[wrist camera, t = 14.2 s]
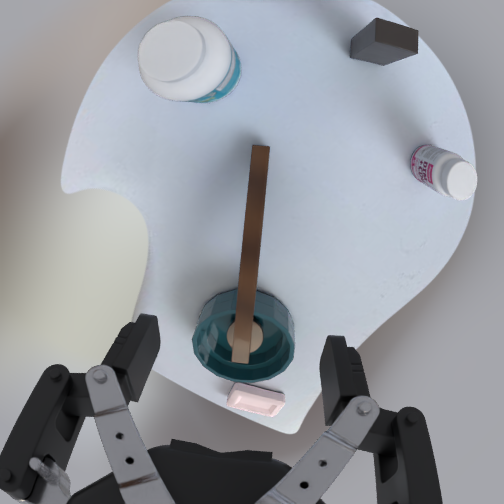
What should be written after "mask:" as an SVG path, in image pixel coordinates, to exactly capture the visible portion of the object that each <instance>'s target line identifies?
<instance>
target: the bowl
mask: <svg viewBox="0 0 504 504" xmlns="http://www.w3.org/2000/svg"><path fill="white" fill-rule="evenodd" d="M237 293H238V290H232V291H229V292H226V293H222V294H219V295H217V296H215V297H214V298H213V299H212V300H211V301H209V302H208V303H207V304H206V305H205V306H204V308H203V310H202V312H201V315H200V317H199V320H198V323H197V326H196V329H195V332H194V335H193V338H192V343H193V349H194V354H195V355H196V357H197V358H198V360H199V361H200V362H201V364H202V365H203V367H205V368H206V369H208V370H209V371H211V372H212V373H214V374H215V375H216V376H219V377H222V378H224V379H227V380H231V381H234V382H246V383H255V382H260V381H264V380H269V379H271V378H273V377H275V376H277V375H278V374H280V373H282V372H284V371H285V370H286V368H287V367H288V366H289V364H290V363H291V362H292V360H293V358H294V350H295V335H294V323H293V321H292V318H291V316H290V314H289V311H288V309H287V308H285V307H284V306H283V305H282V304H281V303H280V302H279V301H278V300H276V299H275V298H274V297H271V296H269V295H266V294H264V293H261V292H258V291H256V297H255V307H254V317H253V318H255V319H256V320H258V321H259V323H260V324H261V326H262V328H263V342H262V344H261V346H260V347H259V348H258V349H257V350H256V351H254V352H252V353H250V355H249V363H248V364H245V363H236V362H231V358H232V348H231V347H230V345H229V343H228V341H227V331H228V328H229V326H230V324H231V323H232V322H233V321H234V320H235V315H236V304H237Z"/></svg>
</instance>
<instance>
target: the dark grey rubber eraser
mask: <svg viewBox="0 0 504 504" xmlns="http://www.w3.org/2000/svg"><path fill="white" fill-rule="evenodd" d="M415 54H418V30H415V29H412V28H409V27H406V26H403V25H400V24H397V23H393V22H390V21H387V20H383V19H379V18H375V19H374V20H373V21H372V22H370V23H369V24H368V25H367V26H366V27H365V28H363V29H362V30H361V31H360V32H359V33H358V34H357V35H356V36H354V37H353V38H352V39H351V53H350V58H353V59H358V60H362V61H367V62H371V63H375V64H379V65H383V66H384V65H387V64H390V63H392V62H395V61H398V60H401V59H404V58H407V57H409V56H412V55H415Z"/></svg>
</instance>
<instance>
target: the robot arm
mask: <svg viewBox="0 0 504 504" xmlns="http://www.w3.org/2000/svg"><path fill="white" fill-rule="evenodd" d="M159 349H160V333H159V326H158V319H157V316H154V315H148V314H140V315H139V317H138V319H137V321H136V322H135V323H133V322H129V323H128V324H127V325H125V326H124V327H123V328H122V329H121V331H120V332H119V334H118V337H117V338H116V339H115V341H114V343H113V344H112V346H111V348H110V349H109V351H108V353H107V355H106V356H105V358H104V360H103V362H102V363H101V365H97V366H94V367H92V368H91V369H90V370H88V372H87V373H69V371H68V369H67V368H66V367H65V366H63V365H59V364H55V365H52V366H49V367H48V368H47V369H46V370H45V371H44V372H43V374H42V376H41V378H40V379H39V381H38V383H37V385H36V386H35V388H34V390H33V391H32V393H31V395H30V397H29V399H28V401H27V403H26V404H25V406H24V408H23V410H22V412H21V414H20V416H19V417H18V419H17V421H16V423H15V425H14V427H13V430H12V431H11V433H10V435H9V438H8V440H7V442H6V444H5V446H4V448H3V450H2V452H1V455H0V489H2V490H3V491H4V492H6V493H7V494H9V495H10V496H11V497H12V498H13V499H15V500H16V501H18V502H19V503H21V504H325V503H324V502H323V501H322V499H320V498H321V496H322V495H323V494H324V493H325V492H326V490H327V489H328V488H329V486H330V485H331V484H332V483H333V482H334V480H335V479H336V478H337V476H338V475H339V474H340V472H341V471H342V470H343V468H344V467H345V465H346V464H347V463H348V462H349V460H350V459H351V457H352V456H353V454H354V453H355V452H356V450H357V449H358V450H362V451H367V452H371V453H373V455H374V466H375V476H376V490H377V504H442V496H441V490H440V485H439V479H438V474H437V468H436V464H435V459H434V455H433V449H432V445H431V441H430V437H429V432H428V428H427V425H426V420H425V417H424V415H423V414H422V412H421V411H420V410H418V409H416V408H414V407H404V408H402V409H401V410H400V411H399V412H398V413H397V412H393V411H389V410H384V409H382V408H379V405H378V404H377V402H376V401H375V400H373V399H372V398H371V397H370V394H369V389H368V385H367V381H366V378H365V373H364V369H363V366H362V362H361V358H360V355H359V354H358V352H357V351H356V350H355V348H354V347H347V344H346V340H345V337H344V336H334V335H328V337H327V339H326V343H325V346H324V349H323V352H322V355H321V359H320V378H321V387H322V396H323V405H324V415H325V425H326V426H331V427H330V428H329V429H328V430H327V431H325V432H324V433H323V434H322V435H321V436H320V437H319V439H318V440H317V441H316V442H315V443H314V445H313V446H312V447H311V448H310V449H309V450H308V451H307V452H306V454H305V455H304V456H303V457H302V458H301V459H300V460H299V462H298V463H297V464H296V465H295V466H294V467H293V468H292V467H290V466H289V465H287V464H285V463H283V462H281V461H279V460H276V459H273V458H272V452H263V451H262V452H261V451H250V450H245V451H237V452H225V453H220V452H217V451H214V450H211V449H209V448H206V447H203V446H201V445H198V444H196V443H191V442H185V441H180V440H175V439H172V440H171V444H170V445H162V446H158V447H154V448H151V449H149V450H147V449H146V447H145V445H144V443H143V441H142V439H141V437H140V434H139V432H138V430H137V428H136V426H135V423H134V421H133V418H132V416H131V413H130V411H129V409H128V405H129V402H130V401H134V402H138V401H139V398H140V396H141V393H142V391H143V388H144V386H145V383H146V381H147V378H148V376H149V374H150V371H151V369H152V366H153V364H154V362H155V359H156V357H157V355H158V352H159ZM85 417H94V419H95V423H96V426H97V429H98V432H99V435H100V438H101V441H102V444H103V447H104V449H105V452H106V455H107V458H108V460H109V463H110V465H111V468H112V470H113V472H111V473H109V474H108V475H106V476H104V477H103V478H101V479H99V480H97V481H96V482H94V483H92V484H91V485H89V486H87V487H85V488H83V489H81V490H80V491H78V492H76V493H74V494H73V495H72V496H71V495H70V479H69V477H68V475H67V474H66V473H65V470H66V467H67V464H68V461H69V459H70V456H71V453H72V450H73V448H74V445H75V443H76V440H77V437H78V435H79V432H80V430H81V427H82V425H83V422H84V420H85Z"/></svg>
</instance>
